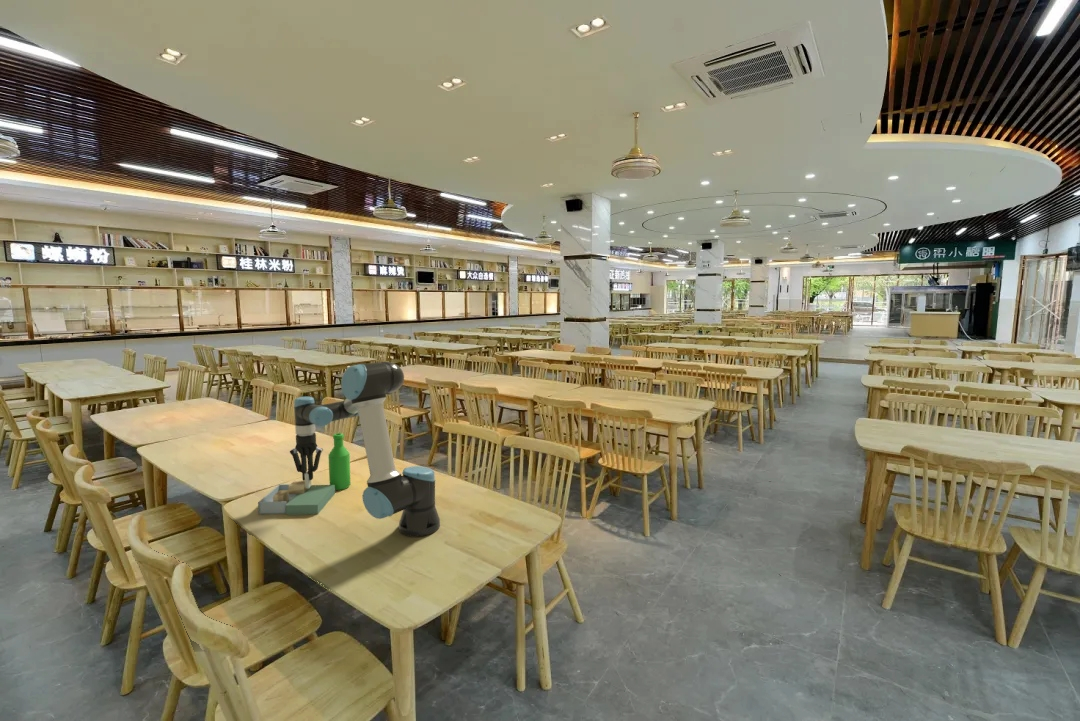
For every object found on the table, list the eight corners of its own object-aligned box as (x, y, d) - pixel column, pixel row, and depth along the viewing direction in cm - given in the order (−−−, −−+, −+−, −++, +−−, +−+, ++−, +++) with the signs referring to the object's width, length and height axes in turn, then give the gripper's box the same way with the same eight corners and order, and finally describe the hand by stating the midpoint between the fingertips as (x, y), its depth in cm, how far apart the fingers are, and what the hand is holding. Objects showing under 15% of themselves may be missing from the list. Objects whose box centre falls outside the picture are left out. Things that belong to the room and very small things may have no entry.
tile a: (282, 496, 185) (272, 496, 185) (282, 510, 186) (273, 510, 186) (288, 490, 191) (279, 490, 191) (289, 503, 192) (280, 504, 192)
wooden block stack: (303, 493, 194) (303, 485, 194) (288, 494, 194) (288, 486, 193) (309, 487, 200) (308, 479, 200) (295, 488, 200) (294, 480, 199)
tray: (286, 513, 184) (285, 501, 184) (258, 514, 183) (258, 502, 183) (304, 494, 202) (304, 483, 202) (279, 495, 201) (278, 484, 201)
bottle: (354, 483, 215) (352, 431, 212) (344, 491, 207) (342, 437, 203) (336, 482, 216) (334, 431, 213) (325, 490, 207) (323, 436, 204)
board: (318, 514, 185) (317, 504, 184) (286, 514, 184) (286, 505, 183) (335, 493, 204) (334, 484, 204) (306, 493, 203) (306, 485, 203)
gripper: (325, 430, 198) (327, 483, 201) (293, 431, 197) (296, 483, 200) (318, 436, 191) (320, 490, 194) (285, 436, 190) (288, 490, 193)
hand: (308, 486), depth 197 cm, fingers closed
